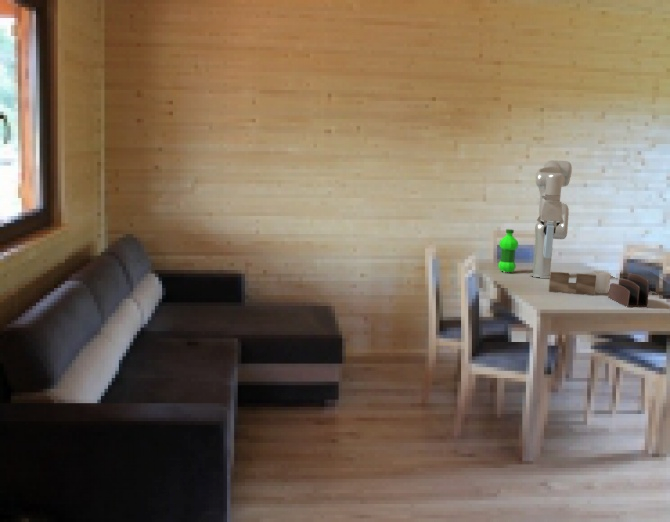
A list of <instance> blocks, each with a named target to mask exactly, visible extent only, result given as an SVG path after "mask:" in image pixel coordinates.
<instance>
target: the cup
mask: <svg viewBox="0 0 670 522" xmlns="http://www.w3.org/2000/svg"><path fill="white" fill-rule="evenodd" d="M592 275H596V284H595V293H597V294H609V288H610V284H611V273H610V272H608V271H602V270H601V271H600V270H599V271H598V270H597V271H595V270H594V271H593V273H592Z"/></svg>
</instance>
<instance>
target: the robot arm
mask: <svg viewBox="0 0 670 522" xmlns="http://www.w3.org/2000/svg"><path fill="white" fill-rule="evenodd" d="M572 171H573V167H572V164H571V162H570V161H568V160H549V161H547V162H545V163H544V165H543V167H542V168H539V169H538V170H537V172H536V174H535V183H536V186H537V189H538V191H539V207H538V215H539V216H538V217H537V219H536V221H537V223H535V226H534V233H535V236H534V237H535V240H534V242H535V243H534V244H535V245H534V254H533V256H534V257H533V268H532V272H530V273H529V277H532V276H533V278H536V277H540V278H539V279H550V272H551V267H552V265H551V264H552V256H553V254H552V255H551V258H545V257H544V255H543V248H544V237H545V235H546V231H547V226H546V224H547V223H548V224H552V225H553V226H554V234H553V240H565V239H566V238H567V236H568V229H569V228H568V227H569V213H570V211H569V210H570V209H569V206H568V205H567V203H563V202H562V201H561V193H562V188H563V187H567V186H568V185H569V183H570V181H571V177H572Z"/></svg>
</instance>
